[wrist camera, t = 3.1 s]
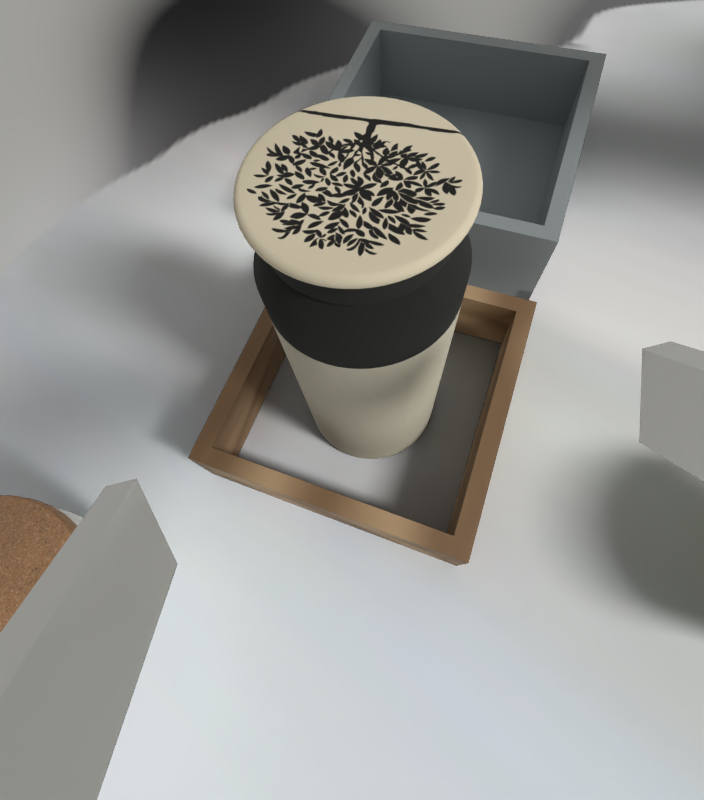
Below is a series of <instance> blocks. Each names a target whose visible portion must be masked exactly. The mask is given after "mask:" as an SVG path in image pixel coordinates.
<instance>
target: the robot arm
mask: <svg viewBox="0 0 704 800" xmlns="http://www.w3.org/2000/svg"><path fill="white" fill-rule="evenodd" d="M639 442H640V443H642V444H643V445H645V446H646V447H648V448H650V449H651V450H653V451H654V452H656V453H658V454H659V455H661V456H663V457H664V458H666V459H667V460H669V461H671V462H672V463H674V464H675V465H677V466H679V467H680V468H682V469H683V470H685V471H687V472H688V473H690V474H691V475H693V476H695V477H696V478H698V479H700V480H701V481H703V482H704V351H700V350H697V349H694V348H690V347H687V346H684V345H680V344H677V343H674V342H667V343H663V344H659V345H655V346H651V347H647V348H644V349H642V375H641V406H640V437H639ZM176 567H177V562H176V560H175V558H174V556H173V554H172V552H171V549H170V547H169V545H168V543H167V541H166V539H165V537H164V535H163V533H162V531H161V529H160V527H159V524H158V522H157V520H156V518H155V516H154V514H153V512H152V510H151V508H150V506H149V504H148V502H147V500H146V497H145V495H144V493H143V491H142V489H141V487H140V485H139V483H138V481H137V479H133V480H130V481H126V482H122V483H118V484H114V485H110V486H106V487H105V488H104V490H103V491H102V493H101V494H100V495H99V497H98V498H97V499H96V501H95V502H94V504H93V505H92V506H91V508H90V509H89V511H88V512H87V513H86V515H85V516H84V518H83V519H82V520H81V522H80V523H79V524H78V526H77V527H76V529H75V530H74V531H73V533H72V534H71V536H70V537H69V538H68V540H67V541H66V542H65V544H64V545H63V547H62V548H61V549H60V551H59V552H58V554H57V555H56V556H55V558H54V559H53V561H52V562H51V563H50V565H49V566H48V567H47V569H46V570H45V572H44V573H43V574H42V576H41V577H40V579H39V580H38V581H37V583H36V584H35V586H34V587H33V588H32V590H31V591H30V592H29V594H28V595H27V597H26V598H25V599H24V601H23V602H22V604H21V605H20V606H19V608H18V609H17V611H16V612H15V613H14V615H13V616H12V617H11V619H10V620H9V622H8V623H7V624H6V626H5V627H4V629H3V630H2V631H1V633H0V800H97V797H98V795H99V792H100V789H101V786H102V783H103V780H104V777H105V774H106V771H107V768H108V765H109V762H110V760H111V757H112V754H113V751H114V748H115V745H116V742H117V739H118V736H119V733H120V730H121V727H122V724H123V722H124V719H125V716H126V713H127V710H128V707H129V704H130V701H131V698H132V695H133V692H134V689H135V687H136V684H137V681H138V678H139V675H140V672H141V669H142V666H143V663H144V660H145V657H146V654H147V652H148V649H149V646H150V643H151V640H152V637H153V634H154V631H155V628H156V625H157V622H158V619H159V616H160V614H161V611H162V608H163V605H164V602H165V599H166V596H167V593H168V590H169V587H170V584H171V581H172V579H173V576H174V573H175V570H176Z"/></svg>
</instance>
